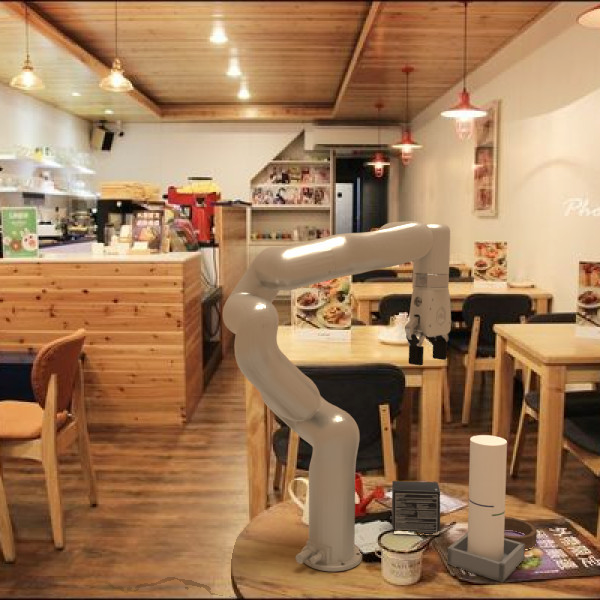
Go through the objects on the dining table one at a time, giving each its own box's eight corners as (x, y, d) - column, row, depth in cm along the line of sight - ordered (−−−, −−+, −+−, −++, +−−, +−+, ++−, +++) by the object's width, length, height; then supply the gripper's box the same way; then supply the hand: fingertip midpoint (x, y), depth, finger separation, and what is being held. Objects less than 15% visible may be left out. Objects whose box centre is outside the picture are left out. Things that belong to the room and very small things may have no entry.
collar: (525, 556, 142) (525, 542, 142) (477, 542, 148) (477, 528, 148) (542, 538, 150) (543, 525, 150) (496, 526, 157) (496, 513, 156)
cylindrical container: (465, 550, 143) (468, 434, 141) (500, 552, 142) (503, 435, 140) (469, 566, 136) (472, 444, 134) (505, 569, 135) (509, 446, 133)
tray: (502, 582, 131) (503, 565, 131) (447, 564, 138) (447, 548, 138) (524, 560, 140) (524, 543, 140) (471, 544, 147) (471, 528, 147)
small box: (437, 524, 157) (438, 480, 157) (440, 537, 151) (441, 491, 150) (391, 522, 159) (392, 479, 158) (392, 535, 152) (393, 489, 151)
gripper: (424, 284, 135) (421, 369, 137) (466, 281, 148) (463, 359, 150) (392, 282, 140) (390, 364, 142) (435, 280, 153) (433, 355, 155)
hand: (427, 361), depth 146 cm, fingers open, 9 cm apart
